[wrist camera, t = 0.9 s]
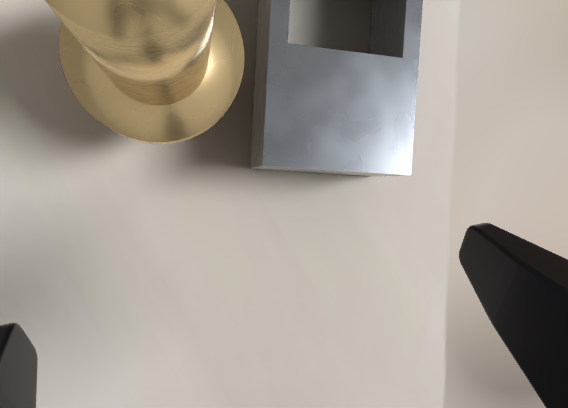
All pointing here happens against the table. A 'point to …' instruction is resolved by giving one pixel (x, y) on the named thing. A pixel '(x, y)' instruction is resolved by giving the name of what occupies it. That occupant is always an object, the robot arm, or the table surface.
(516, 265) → the robot arm
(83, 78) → the brass pin
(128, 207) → the table surface
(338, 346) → the table surface
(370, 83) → the steel hitch block
